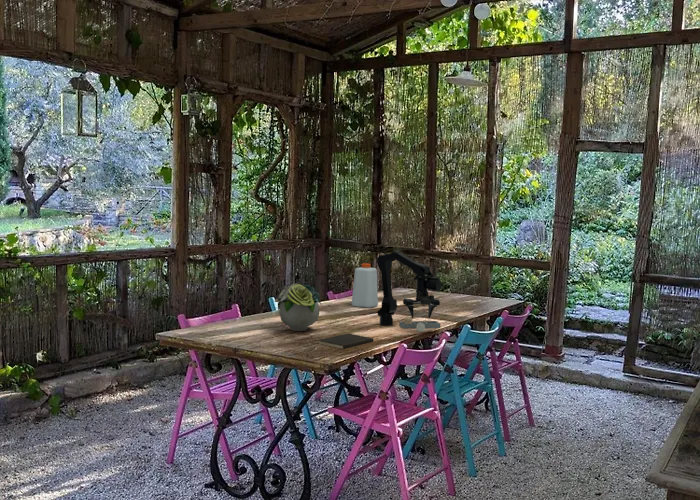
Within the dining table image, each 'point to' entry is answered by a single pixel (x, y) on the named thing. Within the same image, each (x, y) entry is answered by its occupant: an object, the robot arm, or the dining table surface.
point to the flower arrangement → (298, 306)
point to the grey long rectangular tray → (414, 323)
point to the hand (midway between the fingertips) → (420, 318)
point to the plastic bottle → (365, 287)
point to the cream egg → (420, 327)
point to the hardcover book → (345, 341)
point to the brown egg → (407, 320)
